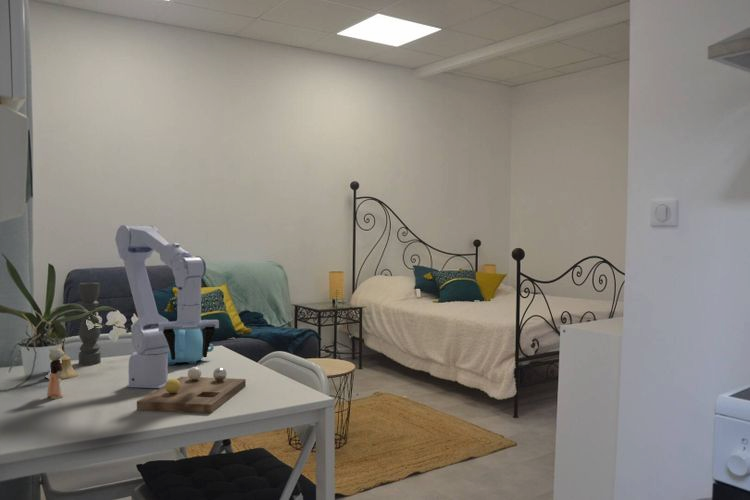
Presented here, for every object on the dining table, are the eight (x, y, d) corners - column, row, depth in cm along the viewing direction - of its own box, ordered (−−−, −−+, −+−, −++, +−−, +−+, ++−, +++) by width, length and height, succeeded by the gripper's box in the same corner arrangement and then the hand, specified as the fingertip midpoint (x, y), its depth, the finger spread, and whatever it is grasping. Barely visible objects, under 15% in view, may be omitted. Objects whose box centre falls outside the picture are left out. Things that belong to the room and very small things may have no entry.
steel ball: (211, 382, 157) (211, 369, 157) (216, 379, 160) (216, 366, 160) (223, 382, 157) (223, 369, 156) (228, 379, 160) (228, 366, 160)
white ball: (185, 381, 158) (185, 368, 158) (191, 378, 161) (191, 365, 161) (198, 381, 157) (198, 368, 157) (203, 378, 161) (203, 365, 161)
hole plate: (136, 409, 139) (136, 401, 139) (181, 383, 163) (181, 376, 163) (211, 413, 137) (211, 404, 137) (245, 386, 161) (245, 379, 161)
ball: (162, 394, 145) (162, 380, 145) (169, 390, 148) (169, 376, 148) (176, 395, 144) (176, 380, 144) (182, 391, 148) (182, 377, 148)
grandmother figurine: (41, 395, 150) (41, 345, 149) (57, 392, 153) (57, 343, 152) (53, 401, 145) (53, 349, 144) (70, 398, 148) (70, 347, 147)
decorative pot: (144, 362, 189) (143, 319, 189) (186, 354, 202) (186, 314, 202) (176, 369, 180) (176, 324, 179) (218, 360, 193) (218, 318, 193)
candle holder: (78, 365, 183) (77, 284, 182) (79, 361, 189) (78, 282, 188) (100, 364, 185) (100, 283, 185) (100, 360, 191) (100, 282, 190)
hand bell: (79, 377, 169) (79, 321, 168) (45, 381, 164) (45, 323, 164) (76, 371, 176) (75, 317, 175) (43, 375, 171) (43, 319, 171)
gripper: (160, 307, 144) (160, 363, 145) (221, 305, 151) (221, 358, 151) (157, 304, 151) (157, 357, 151) (216, 301, 157) (215, 353, 157)
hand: (189, 357), depth 151 cm, fingers open, 7 cm apart
